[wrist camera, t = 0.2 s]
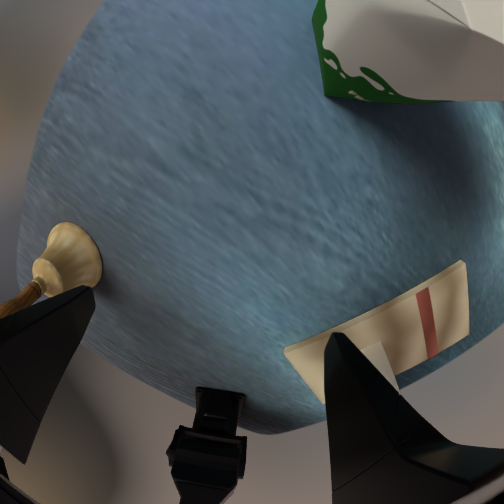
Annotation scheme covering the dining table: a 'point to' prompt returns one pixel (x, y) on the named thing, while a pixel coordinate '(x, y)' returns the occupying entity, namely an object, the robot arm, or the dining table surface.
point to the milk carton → (411, 50)
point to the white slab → (380, 362)
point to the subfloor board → (397, 327)
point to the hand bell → (60, 267)
